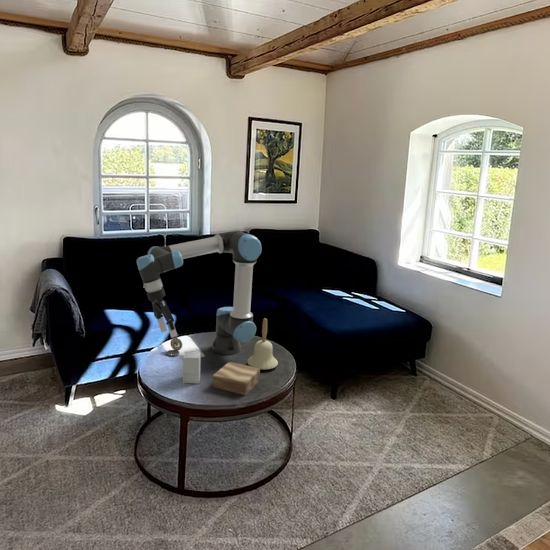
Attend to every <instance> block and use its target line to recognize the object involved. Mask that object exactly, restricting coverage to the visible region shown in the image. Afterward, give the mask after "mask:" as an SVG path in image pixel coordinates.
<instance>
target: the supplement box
mask: <svg viewBox="0 0 550 550" xmlns="http://www.w3.org/2000/svg"><path fill="white" fill-rule="evenodd" d="M201 359H202V357H201V351H184V354H183V356H182V384H199V383H200V379H201V362H202V360H201Z"/></svg>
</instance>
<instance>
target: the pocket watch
mask: <svg viewBox="0 0 550 550" xmlns="http://www.w3.org/2000/svg"><path fill="white" fill-rule="evenodd" d="M179 336H180V335H179V334H178V333H177V336H175V337H173V338H172V339H170V347H171V348H172V349H169V350H167V351H166V355H167V356H170V357H175V356H176V357H177V356H179V355H180V350H181V349H182V348H183V342H182V340H181V339H180V338H178V337H179ZM171 354H172V355H171Z"/></svg>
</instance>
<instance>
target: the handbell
mask: <svg viewBox="0 0 550 550" xmlns="http://www.w3.org/2000/svg"><path fill="white" fill-rule="evenodd" d="M267 334H268V319H267V318H265V317H264V318H263V319H262V326H261V336H262V338H261V339H260V340H258V341H256V343H254V348H253V355H251V356H250V357H249V358H248V359H247V361H246V362H247V365H248V366H250V367H255V368H259V369H260V370H271V369H274V368H276V367H278V364H279V362H278V360H277V359H276V358H275V356H274V355H273V349H274V348H273V344H272V343H271V341H269V340H266V339H267Z"/></svg>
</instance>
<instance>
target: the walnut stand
mask: <svg viewBox="0 0 550 550" xmlns="http://www.w3.org/2000/svg"><path fill="white" fill-rule="evenodd" d="M260 376H261V369H259V368H255V367H251V366H250V365H246V364H241V363H236V362H232V361H228V362H227V363H225V364H224V365H223V366H222V367H221V368H220V369H218V371H216V372H215V373H213V377H212V380H213V381H212V388H214V389H218V390H223V391H226V392H230V393H235V394H238V395H243V396H246V395H247V394H248V393H249V392H250V391H251V390H252V389H253V388H254V387H255V386H256V385H257V384H258V383H259V382H260V378H261V377H260Z"/></svg>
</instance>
